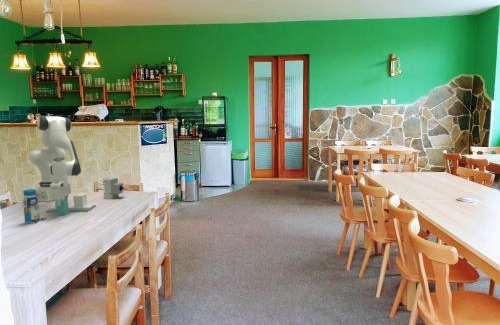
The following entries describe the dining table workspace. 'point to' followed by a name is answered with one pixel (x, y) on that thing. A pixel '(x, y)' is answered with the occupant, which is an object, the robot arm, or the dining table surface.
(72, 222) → the dining table surface
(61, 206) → the block
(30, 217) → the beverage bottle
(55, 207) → the mounting panel
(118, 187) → the circuit breaker
